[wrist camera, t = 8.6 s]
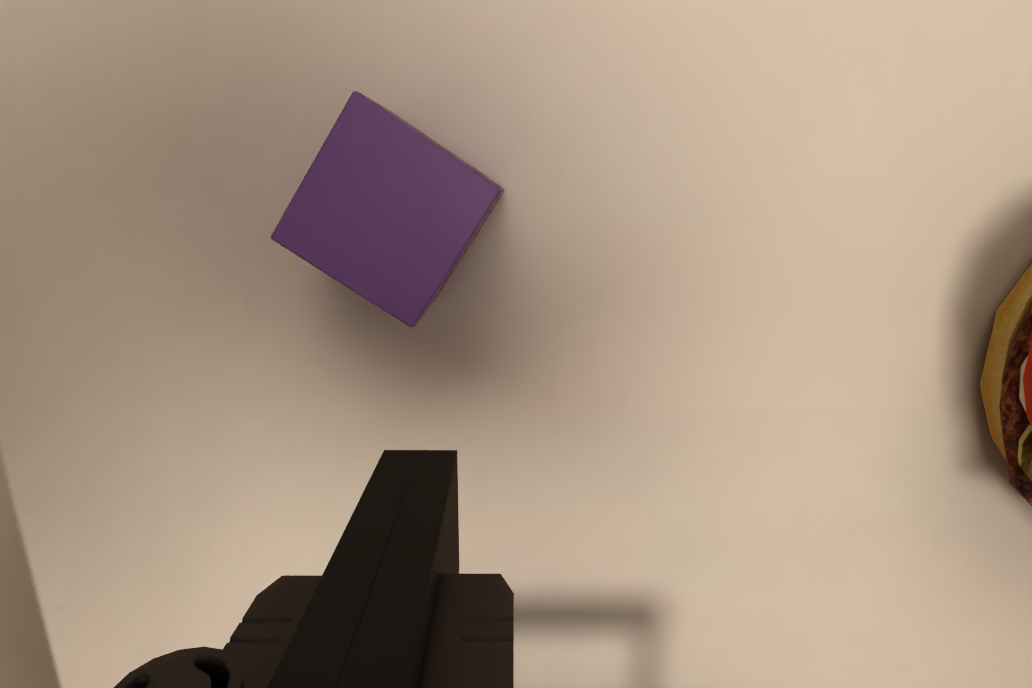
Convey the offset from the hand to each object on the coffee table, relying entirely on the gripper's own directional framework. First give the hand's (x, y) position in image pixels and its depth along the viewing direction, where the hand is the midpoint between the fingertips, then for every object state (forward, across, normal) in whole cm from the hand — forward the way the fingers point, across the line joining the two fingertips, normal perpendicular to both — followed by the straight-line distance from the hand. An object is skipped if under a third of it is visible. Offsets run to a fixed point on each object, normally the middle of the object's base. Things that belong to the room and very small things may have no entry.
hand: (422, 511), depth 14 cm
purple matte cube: (+9, -2, +6) cm, 11 cm away
